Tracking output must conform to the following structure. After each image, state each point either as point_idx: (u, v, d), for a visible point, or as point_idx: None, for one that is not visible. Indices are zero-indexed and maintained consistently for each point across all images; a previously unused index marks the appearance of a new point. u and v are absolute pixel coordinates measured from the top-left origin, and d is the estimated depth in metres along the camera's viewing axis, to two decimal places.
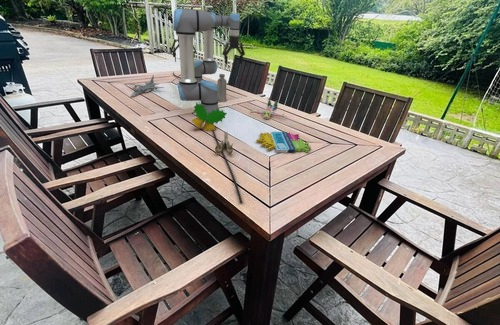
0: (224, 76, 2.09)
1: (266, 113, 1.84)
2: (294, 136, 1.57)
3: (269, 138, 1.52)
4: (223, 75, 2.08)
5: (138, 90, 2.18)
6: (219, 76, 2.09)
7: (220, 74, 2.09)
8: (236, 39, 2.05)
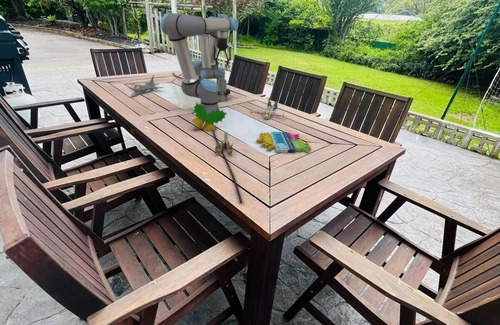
0: (224, 76, 2.09)
1: (266, 113, 1.84)
2: (294, 136, 1.57)
3: (269, 138, 1.52)
4: (223, 75, 2.08)
5: (138, 90, 2.18)
6: (219, 76, 2.09)
7: (220, 74, 2.09)
8: None
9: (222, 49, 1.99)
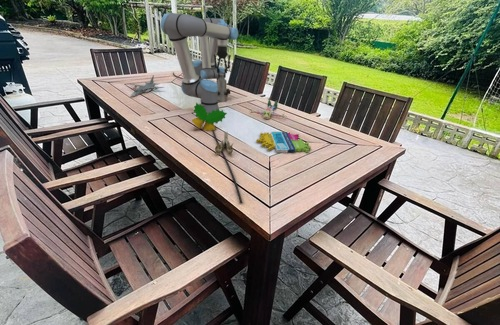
0: (224, 76, 2.09)
1: (266, 113, 1.84)
2: (294, 136, 1.57)
3: (269, 138, 1.52)
4: (223, 75, 2.08)
5: (138, 90, 2.18)
6: (219, 76, 2.09)
7: (220, 74, 2.09)
8: None
9: (222, 57, 2.02)
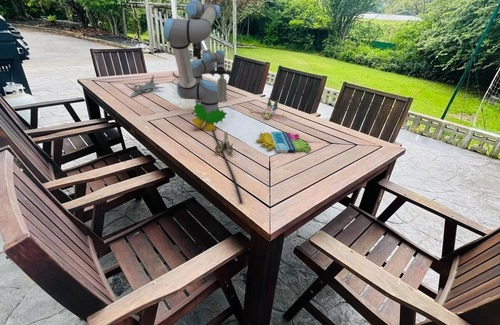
0: None
1: (266, 113, 1.84)
2: (294, 136, 1.57)
3: (269, 138, 1.52)
4: None
5: (138, 90, 2.18)
6: None
7: None
8: None
9: None
